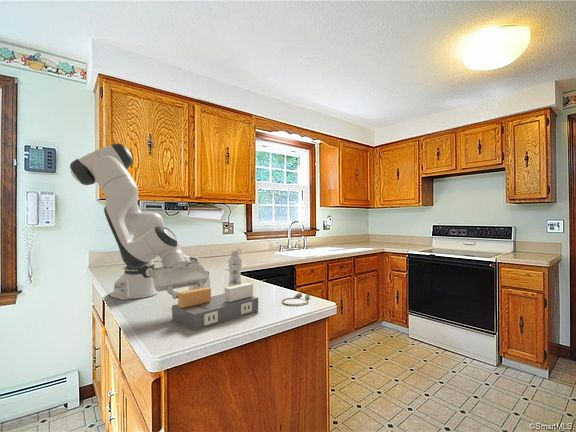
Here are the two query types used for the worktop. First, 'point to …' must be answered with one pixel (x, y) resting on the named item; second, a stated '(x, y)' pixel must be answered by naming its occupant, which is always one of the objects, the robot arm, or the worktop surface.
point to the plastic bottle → (235, 269)
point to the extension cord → (297, 298)
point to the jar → (202, 284)
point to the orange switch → (194, 297)
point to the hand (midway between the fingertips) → (188, 295)
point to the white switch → (238, 292)
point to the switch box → (213, 311)
